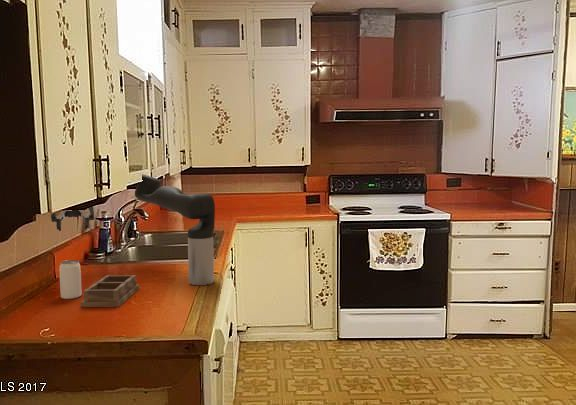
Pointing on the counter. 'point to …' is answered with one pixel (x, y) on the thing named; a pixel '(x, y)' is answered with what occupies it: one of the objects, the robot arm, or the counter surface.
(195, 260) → the robot arm
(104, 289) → the tray
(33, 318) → the counter surface
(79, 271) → the can
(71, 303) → the counter surface
